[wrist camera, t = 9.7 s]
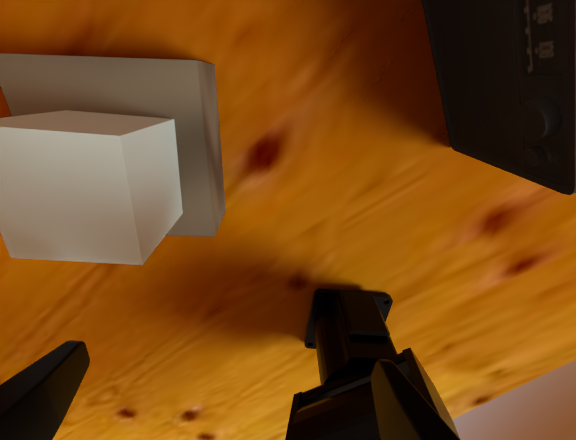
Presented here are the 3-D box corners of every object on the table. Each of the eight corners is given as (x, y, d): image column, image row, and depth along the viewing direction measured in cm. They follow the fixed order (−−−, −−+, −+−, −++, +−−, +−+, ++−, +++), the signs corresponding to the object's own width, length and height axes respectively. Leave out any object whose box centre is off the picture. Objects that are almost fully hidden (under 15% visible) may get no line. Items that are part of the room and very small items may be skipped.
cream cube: (182, 213, 16) (142, 264, 11) (90, 207, 15) (10, 257, 11) (174, 118, 13) (119, 135, 9) (66, 110, 13) (-45, 123, 9)
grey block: (226, 208, 20) (214, 236, 16) (98, 206, 20) (57, 234, 16) (215, 65, 16) (196, 60, 12) (54, 59, 16) (-13, 52, 12)
